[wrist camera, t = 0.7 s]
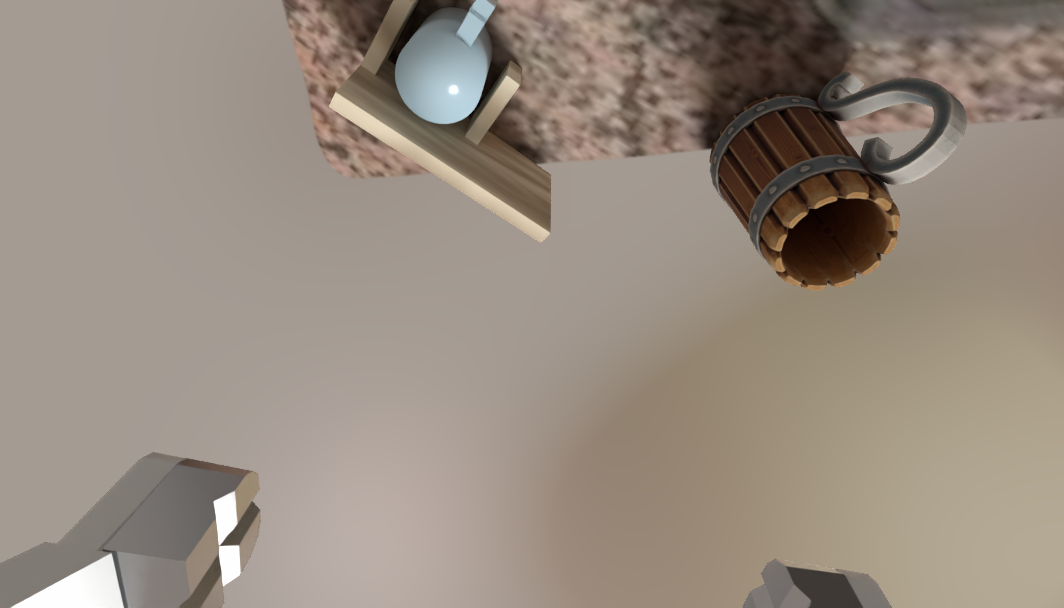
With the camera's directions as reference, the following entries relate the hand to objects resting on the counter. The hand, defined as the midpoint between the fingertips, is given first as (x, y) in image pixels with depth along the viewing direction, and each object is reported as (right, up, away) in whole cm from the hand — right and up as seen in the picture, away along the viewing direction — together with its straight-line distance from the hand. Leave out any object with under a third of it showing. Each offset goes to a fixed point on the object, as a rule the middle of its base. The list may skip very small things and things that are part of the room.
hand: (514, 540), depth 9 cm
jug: (-5, +25, +34) cm, 42 cm away
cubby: (-4, +21, +37) cm, 43 cm away
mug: (+23, +19, +38) cm, 48 cm away
